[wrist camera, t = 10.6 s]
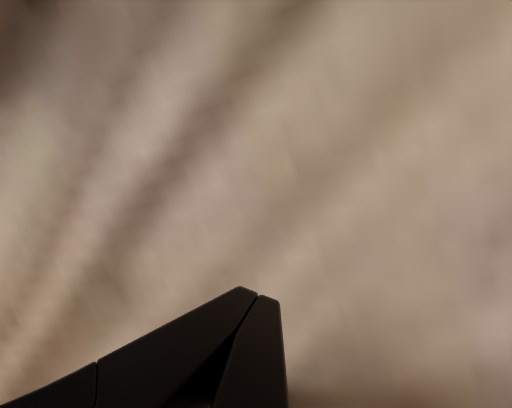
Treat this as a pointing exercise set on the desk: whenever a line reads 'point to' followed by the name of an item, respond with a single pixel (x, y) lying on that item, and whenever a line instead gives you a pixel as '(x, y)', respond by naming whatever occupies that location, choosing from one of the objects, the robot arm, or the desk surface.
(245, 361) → the robot arm
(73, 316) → the desk surface
